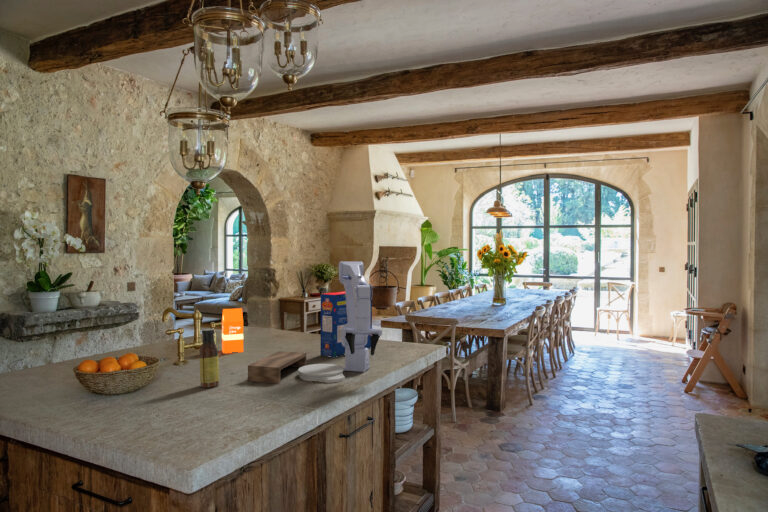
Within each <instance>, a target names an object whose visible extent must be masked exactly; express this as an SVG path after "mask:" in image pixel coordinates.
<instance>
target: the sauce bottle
mask: <svg viewBox="0 0 768 512" xmlns="http://www.w3.org/2000/svg"><path fill="white" fill-rule="evenodd" d="M201 335H202V344H201V346H200V348H199V378H200V381H199V382H200V387H202V388H205V389H206V388H207V389H210V388H216V387H217V386H219V385H220V367H219V366H220V364H219V351H218V348H217V345H216V342H215V329H214V328H205V329H202V330H201Z"/></svg>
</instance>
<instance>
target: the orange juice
mask: <svg viewBox="0 0 768 512" xmlns="http://www.w3.org/2000/svg"><path fill="white" fill-rule="evenodd" d="M221 351H222V353H223V354H224V353H225V354H233V353H232V352H238V353H244V317H243V308H242V307H240V308H222V316H221Z"/></svg>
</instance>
